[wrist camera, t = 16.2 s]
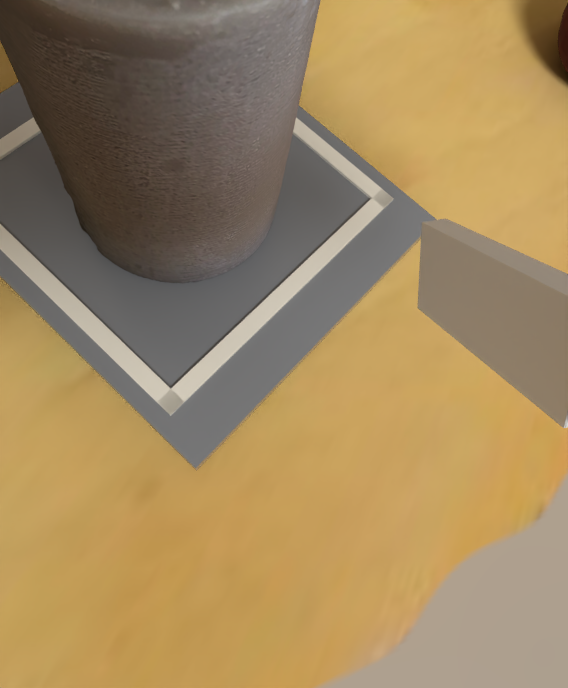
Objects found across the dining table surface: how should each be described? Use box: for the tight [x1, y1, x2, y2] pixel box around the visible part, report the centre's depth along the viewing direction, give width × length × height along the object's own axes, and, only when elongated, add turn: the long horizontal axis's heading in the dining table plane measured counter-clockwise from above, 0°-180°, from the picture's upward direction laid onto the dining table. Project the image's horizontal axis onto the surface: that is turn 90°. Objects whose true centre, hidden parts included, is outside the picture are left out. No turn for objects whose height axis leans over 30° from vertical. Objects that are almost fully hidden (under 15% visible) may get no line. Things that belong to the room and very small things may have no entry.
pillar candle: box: [0, 0, 320, 283], centre depth 19 cm, size 10×10×15 cm
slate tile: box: [0, 82, 436, 470], centre depth 26 cm, size 20×17×1 cm
